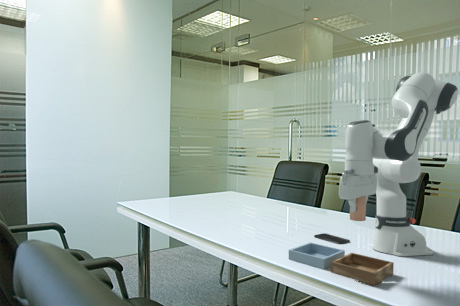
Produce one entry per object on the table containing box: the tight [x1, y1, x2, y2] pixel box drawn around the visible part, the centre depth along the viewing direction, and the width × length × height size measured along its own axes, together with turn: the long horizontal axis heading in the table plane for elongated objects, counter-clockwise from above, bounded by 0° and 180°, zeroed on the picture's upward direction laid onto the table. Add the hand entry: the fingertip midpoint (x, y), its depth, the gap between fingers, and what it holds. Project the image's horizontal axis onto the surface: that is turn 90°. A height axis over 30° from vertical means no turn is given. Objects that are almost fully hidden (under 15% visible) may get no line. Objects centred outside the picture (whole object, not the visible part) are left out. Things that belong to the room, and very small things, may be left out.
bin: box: [288, 242, 346, 270], centre depth 129 cm, size 15×15×4 cm
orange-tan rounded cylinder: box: [349, 196, 367, 222], centre depth 117 cm, size 5×5×8 cm
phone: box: [313, 233, 351, 245], centre depth 159 cm, size 8×1×15 cm
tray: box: [330, 252, 395, 287], centre depth 116 cm, size 15×15×4 cm
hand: (358, 210), depth 117 cm, fingers closed on orange-tan rounded cylinder, 5 cm apart
